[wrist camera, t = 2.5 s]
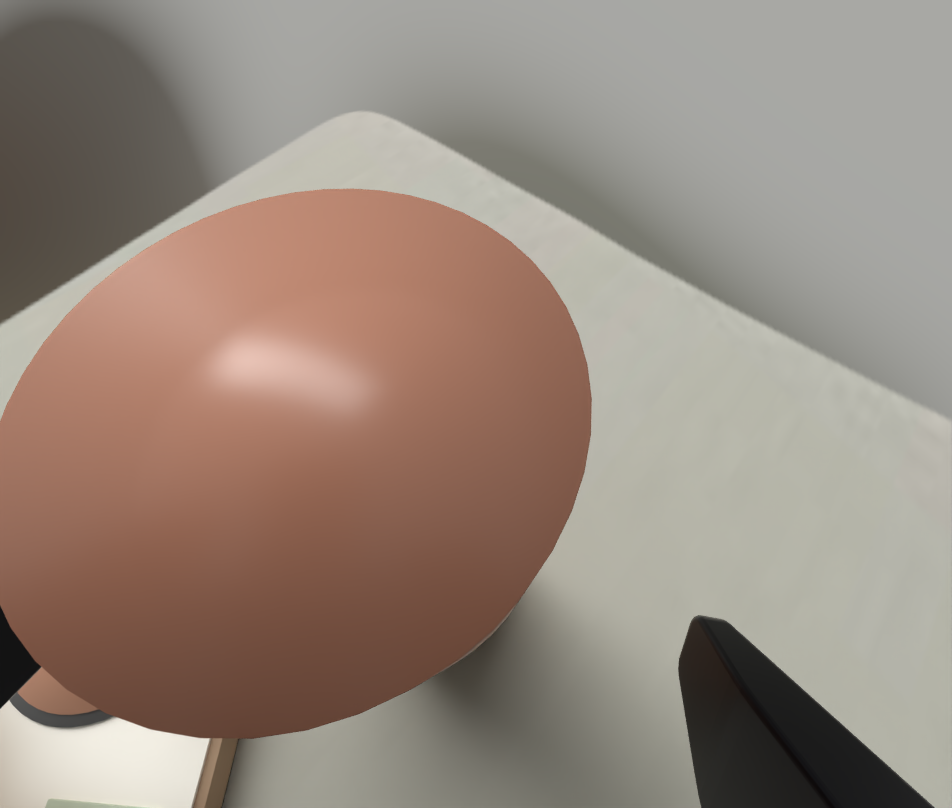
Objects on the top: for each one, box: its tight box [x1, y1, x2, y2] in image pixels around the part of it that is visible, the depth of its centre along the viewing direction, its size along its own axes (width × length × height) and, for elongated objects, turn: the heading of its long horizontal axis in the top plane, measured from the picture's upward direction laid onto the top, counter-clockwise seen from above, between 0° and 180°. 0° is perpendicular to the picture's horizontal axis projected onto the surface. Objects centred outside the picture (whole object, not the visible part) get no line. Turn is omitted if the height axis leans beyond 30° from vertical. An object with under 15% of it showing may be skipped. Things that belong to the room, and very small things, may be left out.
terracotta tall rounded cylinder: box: [0, 189, 592, 739], centre depth 9 cm, size 5×5×13 cm
